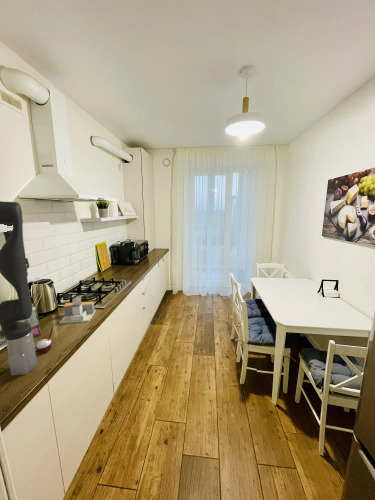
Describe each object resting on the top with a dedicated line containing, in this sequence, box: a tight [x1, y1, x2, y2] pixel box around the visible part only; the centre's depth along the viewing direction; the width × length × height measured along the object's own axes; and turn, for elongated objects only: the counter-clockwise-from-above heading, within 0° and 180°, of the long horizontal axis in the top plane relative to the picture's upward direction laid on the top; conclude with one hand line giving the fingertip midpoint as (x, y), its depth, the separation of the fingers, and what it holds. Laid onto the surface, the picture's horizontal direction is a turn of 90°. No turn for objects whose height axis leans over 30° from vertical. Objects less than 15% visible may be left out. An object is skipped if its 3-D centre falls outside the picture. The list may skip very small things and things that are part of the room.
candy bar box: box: [20, 306, 42, 338], centre depth 116 cm, size 11×5×16 cm, turn 129°
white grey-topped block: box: [72, 301, 83, 316], centre depth 135 cm, size 4×4×10 cm
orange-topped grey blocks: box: [58, 301, 97, 325], centre depth 138 cm, size 14×18×8 cm
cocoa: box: [35, 326, 54, 354], centre depth 105 cm, size 10×6×12 cm, turn 98°
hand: (21, 278), depth 117 cm, fingers open, 8 cm apart
